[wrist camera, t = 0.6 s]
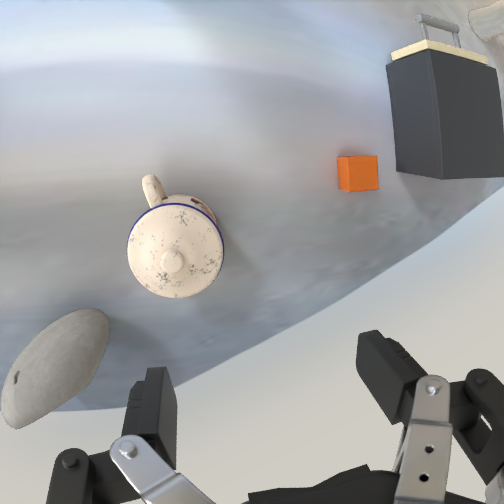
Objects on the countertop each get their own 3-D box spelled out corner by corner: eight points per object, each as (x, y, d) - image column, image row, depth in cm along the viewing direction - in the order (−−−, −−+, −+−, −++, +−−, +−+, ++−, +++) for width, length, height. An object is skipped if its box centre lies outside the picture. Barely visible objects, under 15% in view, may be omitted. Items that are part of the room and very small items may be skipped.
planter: (55, 369, 40) (11, 458, 22) (24, 334, 38) (-34, 416, 20) (138, 313, 39) (107, 418, 22) (104, 271, 37) (44, 359, 19)
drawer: (384, 20, 31) (416, 2, 24) (444, 35, 33) (479, 24, 25) (402, 150, 37) (440, 153, 30) (460, 151, 38) (497, 155, 31)
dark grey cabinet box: (385, 65, 34) (429, 49, 25) (451, 75, 36) (496, 68, 26) (396, 171, 39) (442, 179, 30) (459, 169, 40) (505, 177, 31)
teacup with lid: (231, 249, 39) (243, 289, 28) (162, 278, 38) (149, 326, 27) (191, 155, 35) (186, 156, 24) (120, 188, 34) (86, 204, 23)
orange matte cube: (336, 157, 37) (347, 157, 34) (365, 155, 38) (377, 156, 35) (339, 189, 38) (349, 192, 36) (367, 186, 39) (378, 189, 36)
